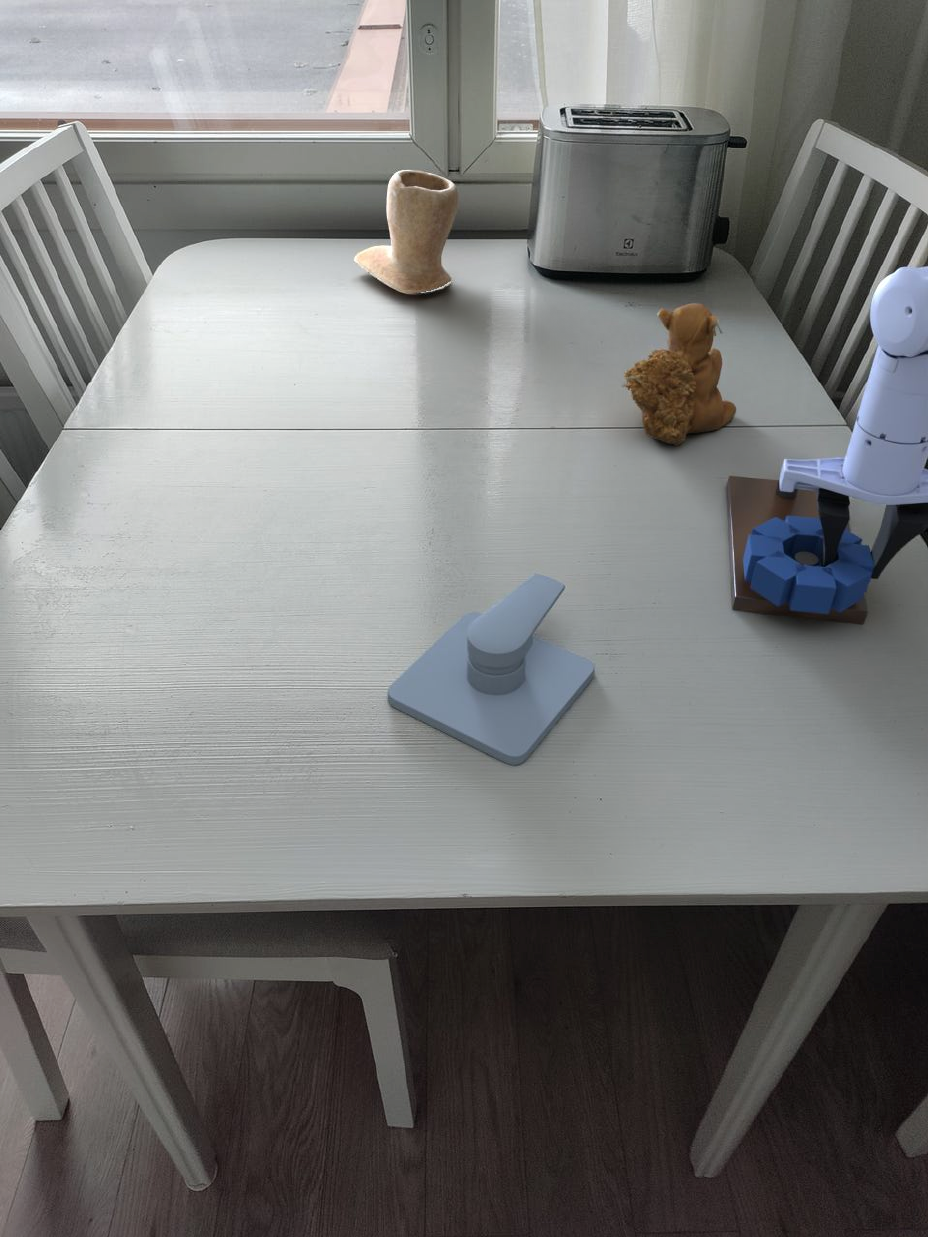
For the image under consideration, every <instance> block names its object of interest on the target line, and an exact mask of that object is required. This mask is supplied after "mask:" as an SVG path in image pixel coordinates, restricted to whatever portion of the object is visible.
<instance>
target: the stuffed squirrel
mask: <svg viewBox="0 0 928 1237" xmlns="http://www.w3.org/2000/svg"><path fill="white" fill-rule="evenodd" d="M657 317H658V319H659V320H660V322H661V323H662V325H663V327H664V328H665V329H666V330H667V333H668V335H667V336H668V337H667V338H668V339H667V346H668V350H667V349H664V348H663V349H662V348H661V349H655V350H652V351H651V354H649V355H648V356H647V359H643V360H641V361H638V362H634V366H633V367H630V368H629V369H627V370H626V371H625V372H623V373H622V374H623V375H624V378H625V382H626V383H625V384H621V387H622V388H624V387H625V388H627V390H628V391H630V397H631V398H632V400H633V401H634V404H636V406H637V407H638V408H639V409H640V411H641V415H642V416H641V420H642V421H641V422H642V427H643V431H644V432H645V434H646V435H647V436H649V437H651V438H652V439H653V440H657V441H661V442H663V443H664V444H669V445H675V446H679V445H681V444H682V442H684V441H686V438H687V435H688V434H698V433H706V432H711V431H718V430H720V429H721V428H722V427H724V426H725V425H726V424H728V423H729V422H730V421H731V420H732V419H733V418H734V416H735V415H736V413H737V407H736V405H735V403H734V402H732V401H730V400H723V397H722V393H721V392H720V390H719V388H718V384H719V383H720V378H721V373H722V369H723V357H722V353H721V351H720V349H718V348H714V347H713V343H714V337H716V336H717V332H716V328H718V331H719V333H720V334H721V335H722V334H723V330H722V329H721V327H720V326H719V322H720V319H719V317H717V316H716V315H713V314H712V311H711V310H710V309H708V307H707V306H705V305H704V304H702V303H698V302H691V303H688V304H685V305H682V306H680V307H677V308H675V309H674V311H670V310H668V309H666V308H661V309H659V311H658V313H657Z"/></svg>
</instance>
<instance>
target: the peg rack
mask: <svg viewBox="0 0 928 1237" xmlns="http://www.w3.org/2000/svg"><path fill="white" fill-rule="evenodd" d="M782 466H783V464H782ZM782 466H781V467H782ZM781 470H782V468H781V469H780V471H781ZM780 474H781V472H780V473H779V475H780ZM779 478H780V476H779V477H778V479H771V478H760V477H748V476H739V475H738V476H737V475H728V478H727V482H726V487H725V489H726V490H725V492H726V509H727V510H726V511H727V529H728V532H727V534H728V549H729V552H728V553H729V569H730V570H729V572H730V589H731V607H732V608H731V610H734V611H735V610H736V611H742V612H743V611H744V612H750V613H759V614H770V615H779V616H785V617H794V618H795V617H796V618H805V619H813V620H821V621H822V620H823V621H831V622H841V623H849V624H857V625H864V624H865V621H866V619H867V615H868V613H869V609H868V604H867V600H866V595H865V594H864V596H863V599H862V600H860V601H859V602H857V603H855V604H853V605H852V606H850V607H848V608H847V609H845V610H843V611H841V612H840V613H839V612H837V611H836V610H834V609H832V608H830V611H829V614H819V613H810V612H800V611H791V610H790V606H789V601H788V602H786V603H784V604H782V605H780V606H779V607H778V606H777V605H775V604H774V603H772V602H771V601H769V600H768V599H766V598H765V597H763V596H762V595H760V594H759V593H757V592H756V591H754V590H752V589H751V588H750V586H751V582H752V581H745V576H744V565H743V558H744V553H745V549H746V545H747V541H748V536H749V534H752V530H753V528H755V527H757V526H759V525H761V524H763V523H765V522H767V521H769V520H771V519H773V518H775V517H777V518H779V519H781V520H783V521H784V522H785V520H786V516H797V517H808V518H819V513H818V508H817V495H816V491H811V490H802V489H794V491H793V492H784V491H780V483H779V482H780V480H779ZM819 519H820V518H819ZM849 522H850V521H849ZM849 522H848V524H847V526H846V528H845V529H846V530H848V531H850V532H852V531H851V526H850V523H849ZM794 560H795V561H797V562H798V563H800V564H802V565H808V566H818V562H819V559H818V557H817V556H816V555H815V554H813V553H810V552H805V551H803V552H798V553H796V554H795V556H794ZM818 567H819V566H818Z"/></svg>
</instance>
